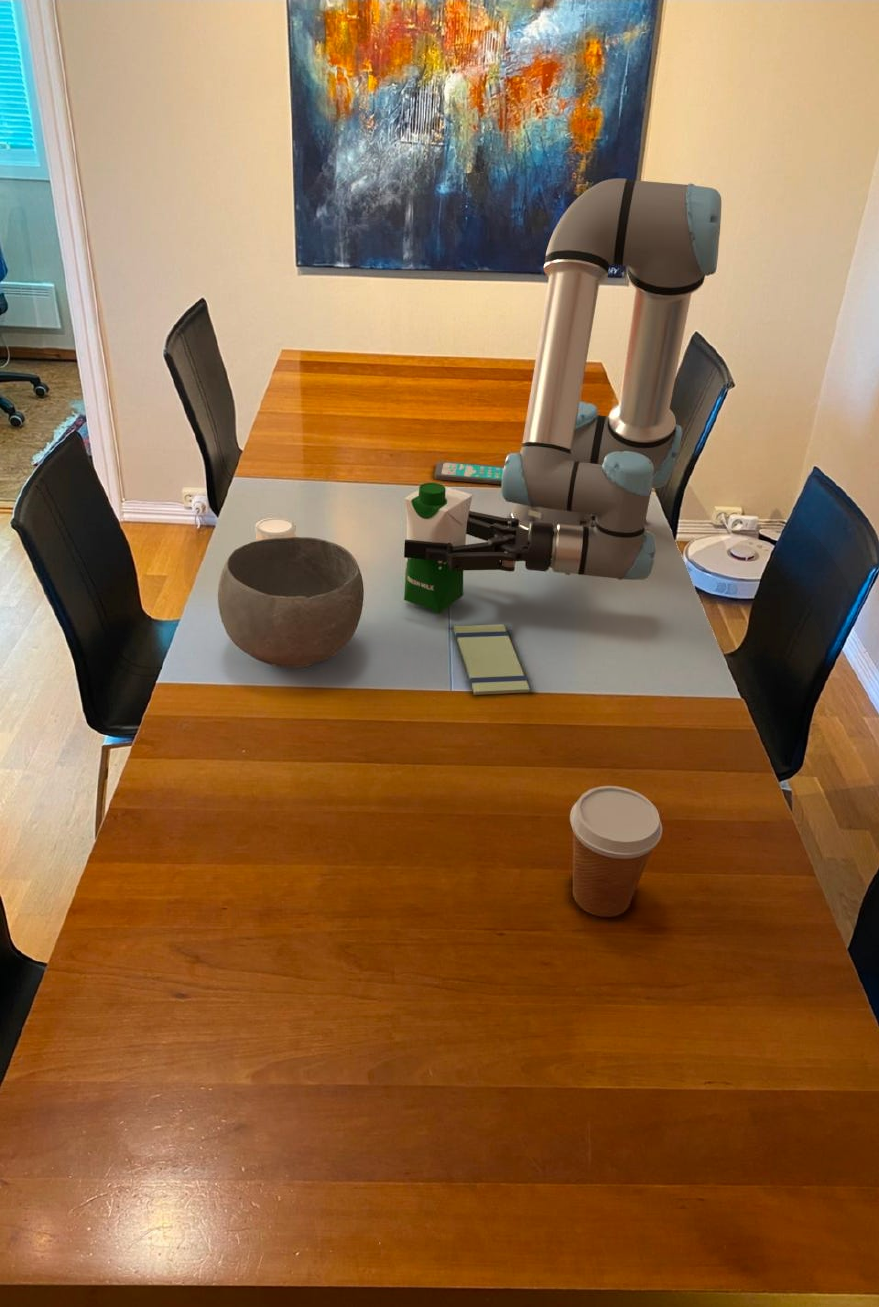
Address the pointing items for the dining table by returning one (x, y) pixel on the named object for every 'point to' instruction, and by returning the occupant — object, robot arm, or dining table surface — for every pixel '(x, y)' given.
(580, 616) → the dining table surface
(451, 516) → the milk carton
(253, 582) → the bowl
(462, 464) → the smartphone
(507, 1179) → the dining table surface
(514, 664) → the tea towel
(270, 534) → the beige tapered cylinder
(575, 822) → the disposable coffee cup
